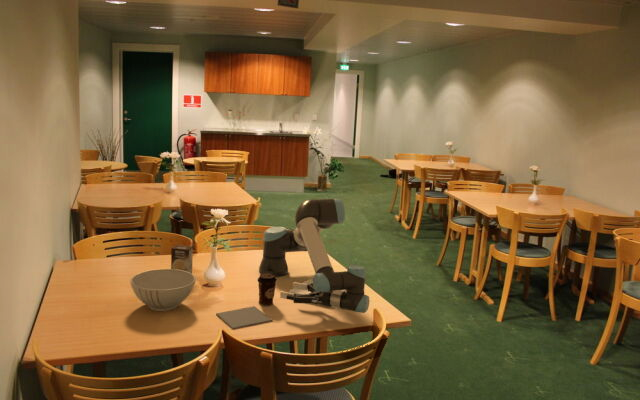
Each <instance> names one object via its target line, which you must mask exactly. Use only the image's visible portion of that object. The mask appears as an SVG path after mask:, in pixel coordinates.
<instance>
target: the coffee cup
mask: <svg viewBox="0 0 640 400" xmlns="http://www.w3.org/2000/svg"><path fill="white" fill-rule="evenodd" d="M277 280H278V279H277V278H276V276H275V275H274V274H270V273H264V274H261V273H260V274H259V277H258V278H257V282H258V304H259V305H261V306H264V305H266V306H271V305H273V304H274V297H275V293H276V292H275V291H276V283H277Z"/></svg>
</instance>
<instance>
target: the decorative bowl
mask: <svg viewBox="0 0 640 400" xmlns="http://www.w3.org/2000/svg"><path fill="white" fill-rule="evenodd" d="M196 281H197V278H196V276H195V275H194V274H193V273H192V274H191V273H189V272H186V271H183V270H177V269H171V268H157V269H149V270H145V271H142V272H139V273H136V274H135V275H133V276H132V277H130V280H129V282H130V286H131V289H132V291H133V293H134V295H135V296H136V297H137V299H138V300H139V301H140V302H142V304H145V305H146V306H148V308H149V309H150V310H152V311H156V312H168V311H171V310H174V309H176V308H178V306H179V304H182V302H184V301H185V300H186V299H188V297H189V296H190V295H191V292H192V291H193V289H194V287H195V284H196Z"/></svg>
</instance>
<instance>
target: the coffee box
mask: <svg viewBox="0 0 640 400" xmlns="http://www.w3.org/2000/svg"><path fill="white" fill-rule="evenodd" d="M170 251H171V253H170V255H171V257H170V258H171V259H170V261H171V263H170V269H177V270H183V271H186V272H189V273H191V274H193V257H194V255H193V252H194V247H193V246H192V245H182V244H181V245H180V244H174V246H172V247H171V250H170Z"/></svg>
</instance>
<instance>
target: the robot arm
mask: <svg viewBox="0 0 640 400" xmlns="http://www.w3.org/2000/svg"><path fill="white" fill-rule="evenodd" d="M345 219H346V209H345V204H344V202H343V200H342V199H340V198H336V197H335V198H315V199H314V198H312V199H311V198H310V199H306V200H304V201H303V202H302V203H300V205H299V206H297V209H296V211H295V215H294V222H295V227H296V228H295V229H287V227H284V226H271V227H269V228H267V229H265V230H264V231H263V237H262V238H263V246H262V258H261V261H260V265H259V267H258V272H259V274H260V275H261V274H264V273H270V274H274V275H275V277H283V276H286V275H288V274H289V267H288V263H287V260H286V253H292V252H293V253H296V252H307V253H308V256H309V259H310V262H311V263H312V267H313V270H314V274H313V277H312V280H313V283H311V284H308V285H307V284H302V283H303V282H302V283H301V282H296V281H293V282H292V289H294V288H295V289H300V290H306V291H307V289H308V291H310V292H311V293H309V294H302V295H296V294H295V293H294V294H293V293H290V292H287V291H281V290H280V295H279V297H280V298H281V299H284V300H291V301H293V304H313V305H317V304H318V302H317V301H321V302H322V303H321V305H323V306H324V307H329V308H331V307H332V308H335V309H337V310H345V311H349V312H354V313H362V314H365V313H366V312H368V311H369V306H370V295H367V294H365V287H366V276H367V275H366V274H367V273H366V272H367V271H366V268H365V266H362V265H360V264H351V265H348V267H347V269H346V271H335V270H334V268H333V266H332V263H331V260H330V257H329V255H328V252H327V250H326V247H325V244H324V242H323V238H322V235H321V232H323V231H324V230H325V229H330V228H331V227H332V226H333V225H339V224H343V223H344V221H345ZM341 290H346V291H341Z"/></svg>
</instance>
